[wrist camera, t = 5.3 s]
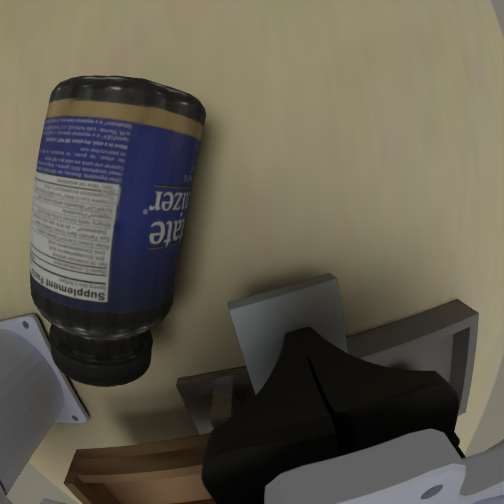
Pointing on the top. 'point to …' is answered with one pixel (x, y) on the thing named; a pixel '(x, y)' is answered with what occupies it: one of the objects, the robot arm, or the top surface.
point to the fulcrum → (215, 396)
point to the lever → (193, 448)
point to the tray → (426, 345)
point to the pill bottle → (110, 220)
